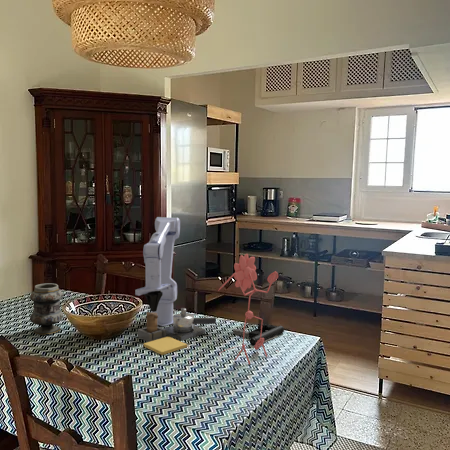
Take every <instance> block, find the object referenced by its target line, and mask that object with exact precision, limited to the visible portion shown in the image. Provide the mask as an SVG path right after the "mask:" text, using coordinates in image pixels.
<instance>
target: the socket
mask: <svg viewBox="0 0 450 450" xmlns="http://www.w3.org/2000/svg"><path fill="white" fill-rule="evenodd" d="M163 328H164V327H160V326H159V325H157V331H155V332H152V333H149V332H147V326H145V327H141V328H138V329H137V338H138V339H141V340H143V341H146V343H147V342H150V341H154V340H157V339H161V338H164V337H167V334H166V330H165V329H163Z"/></svg>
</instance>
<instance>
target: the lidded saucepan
mask: <svg viewBox="0 0 450 450" xmlns="http://www.w3.org/2000/svg"><path fill="white" fill-rule="evenodd" d="M215 324H217V318H216V317H195V316H194V314H191V313H188V312H187V308H185V307H181V308H180V313H176V314H173V324H172V326H173V330H174V331H177V332H190V331H192V330H194V325H215Z"/></svg>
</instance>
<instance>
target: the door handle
mask: <svg viewBox="0 0 450 450" xmlns="http://www.w3.org/2000/svg"><path fill="white" fill-rule="evenodd" d="M261 323H262V322H261ZM261 323H259V324H257V328H255V329H253V330H251V331H246V330H245V332H244V338H248V340H249V343H250V345H251V346H255V344H256V342H257V341H258V340H259V339H260V334H261ZM232 331H233V333H232V334H234V335H237V336H241V337H243V331H244V329H243V330H241V329H238V328H237V329H236V328H235V329H233V330H232ZM284 332H285V328H284V326H282V325H274V324H269V323H267V324H266V323H262V334H261V339H262V338H264V343H267V342H270V341H271V340H274V339H275V338H277V337H278V336H279V335H281V334H283V333H284ZM264 343H263V344H264Z"/></svg>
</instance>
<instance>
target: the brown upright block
mask: <svg viewBox="0 0 450 450" xmlns="http://www.w3.org/2000/svg"><path fill="white" fill-rule="evenodd" d="M145 315H146V327H147V332H149V333H152V332H155V331H157V326H158V325H157V318H158V316H157V313H151V311H150V312H149V311H146V313H145Z"/></svg>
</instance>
